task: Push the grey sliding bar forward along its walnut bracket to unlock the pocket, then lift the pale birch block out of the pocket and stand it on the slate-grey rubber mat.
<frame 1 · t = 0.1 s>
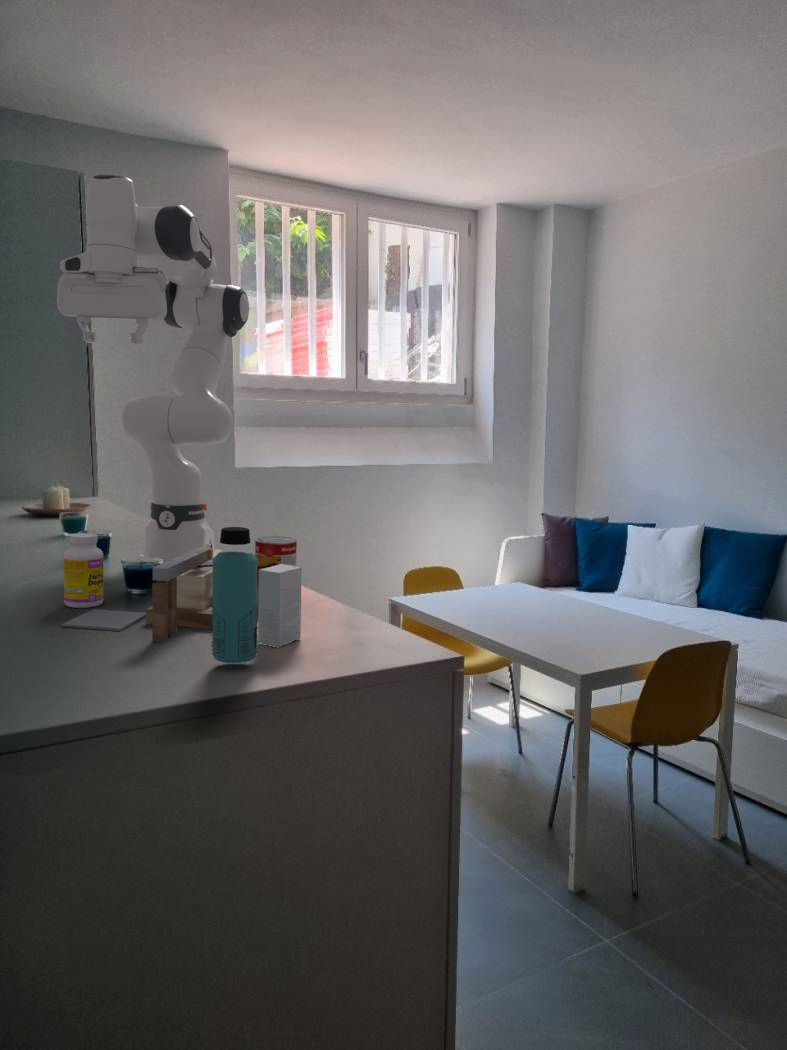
hand: (112, 342, 139), 48 cm above the table, tool pointing down, fingers open, 8 cm apart
skincare box: (279, 642, 118), on the table
holder: (194, 617, 130), on the table
grey sliding bar: (184, 563, 124), point 10 cm above the table, slide at 0.0 cm
canned food: (274, 601, 144), on the table
supplement bottle: (84, 605, 135), on the table
birch block: (194, 617, 130), resting in holder
beverage bottle: (234, 667, 105), on the table
mat: (106, 620, 125), on the table
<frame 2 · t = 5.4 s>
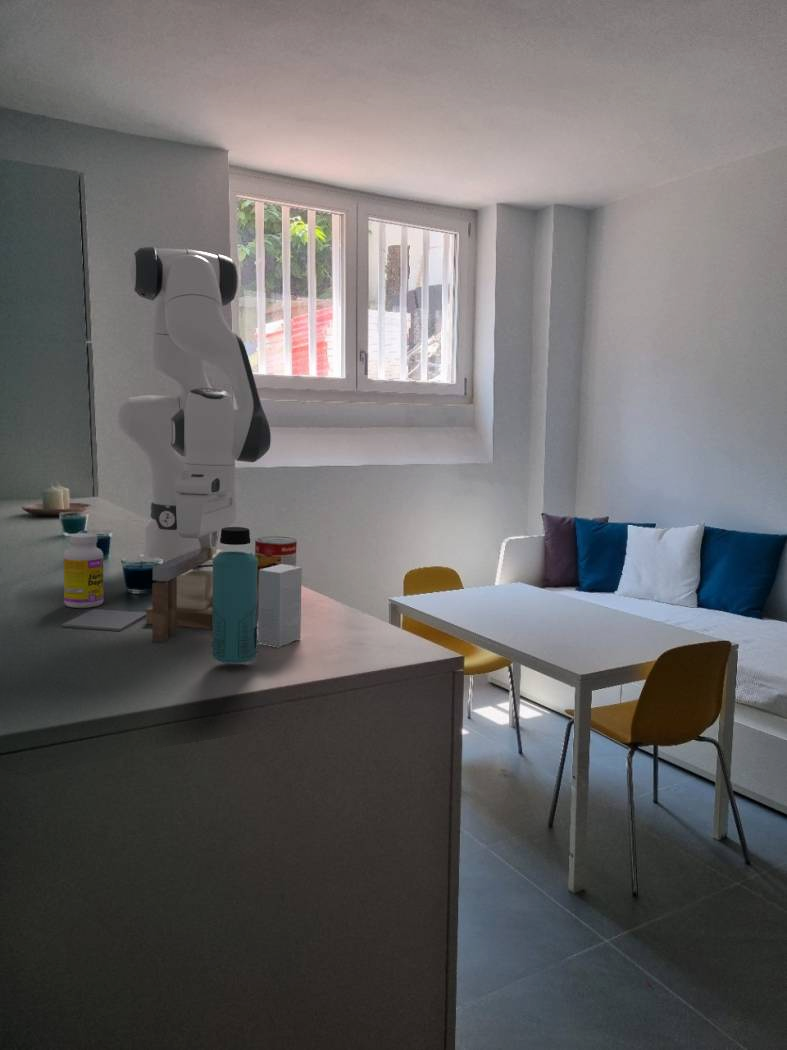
hand: (208, 555, 135), 10 cm above the table, tool pointing down, fingers closed
grey sliding bar: (184, 563, 124), point 10 cm above the table, slide at 0.0 cm, touching gripper
everything else where it was.
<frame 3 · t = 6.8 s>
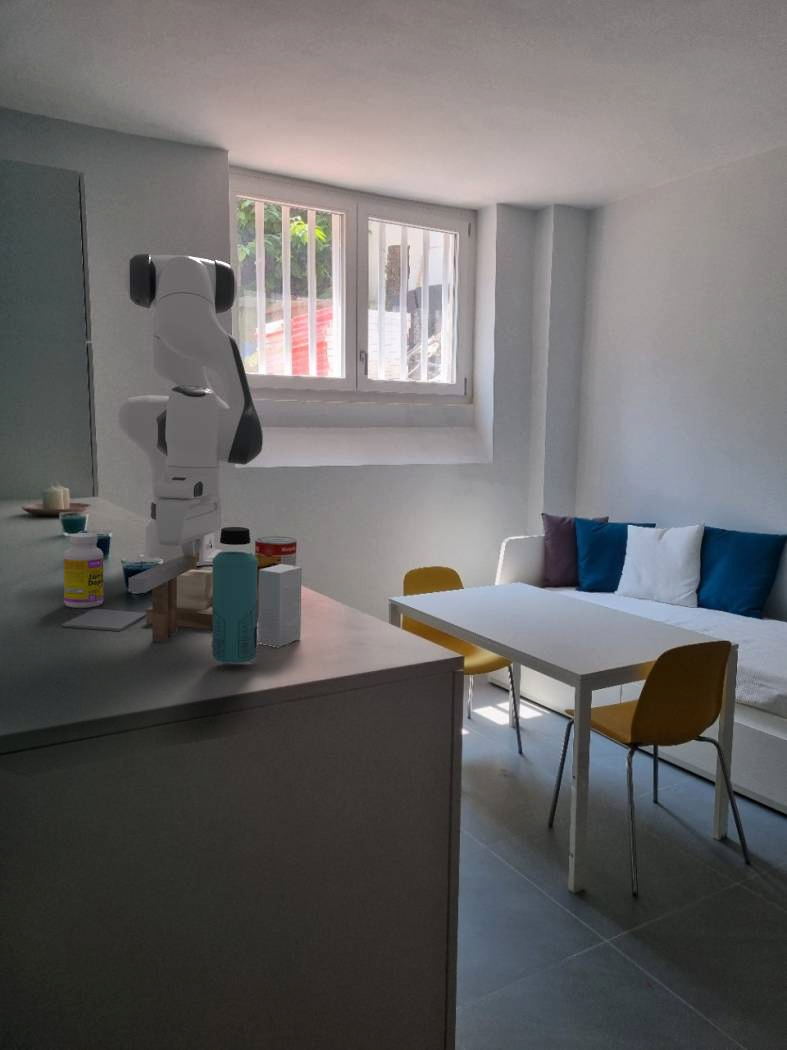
hand: (192, 563, 127), 10 cm above the table, tool pointing down, fingers closed
grey sliding bar: (164, 572, 116), point 10 cm above the table, slide at 8.0 cm, touching gripper
everything else where it was.
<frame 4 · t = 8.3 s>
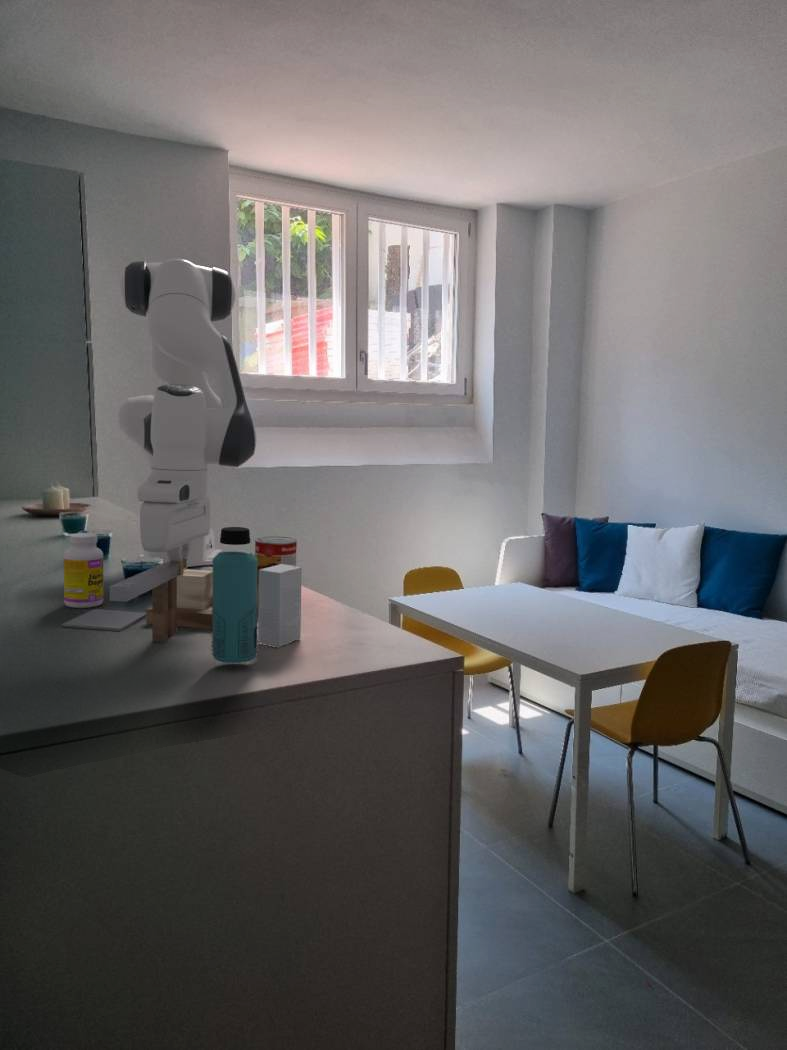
hand: (178, 570, 121), 10 cm above the table, tool pointing down, fingers closed
grey sliding bar: (148, 579, 110), point 10 cm above the table, slide at 13.5 cm, touching gripper
everything else where it was.
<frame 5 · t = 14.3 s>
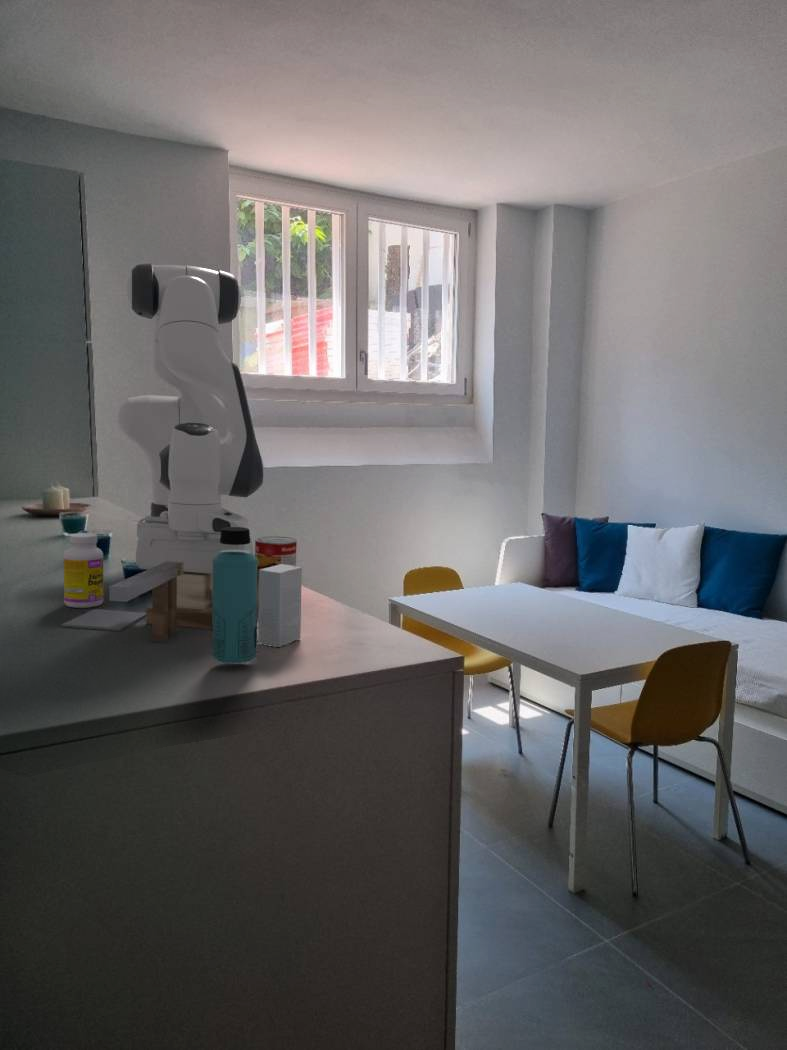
hand: (194, 597, 129), 4 cm above the table, tool pointing down, fingers closed on birch block, 5 cm apart
grey sliding bar: (148, 579, 110), point 10 cm above the table, slide at 13.5 cm
birch block: (194, 617, 130), resting in holder, touching gripper
everything else where it was.
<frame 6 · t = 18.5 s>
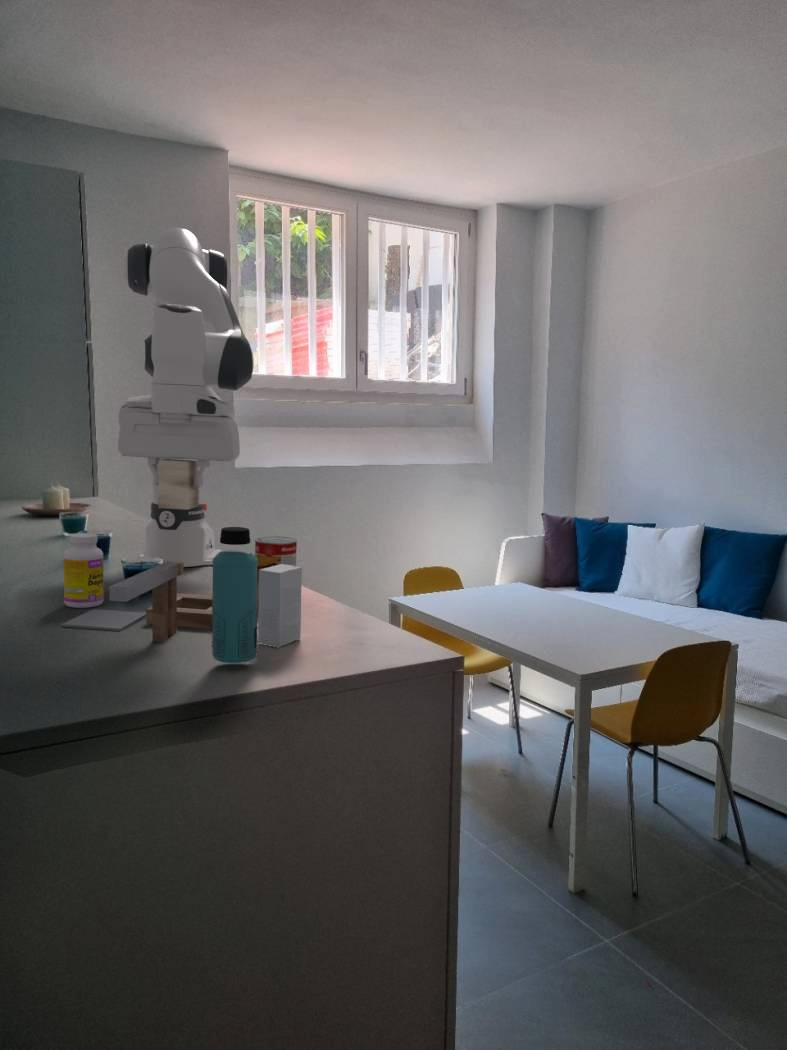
hand: (178, 485, 126), 23 cm above the table, tool pointing down, fingers closed on birch block, 5 cm apart
birch block: (178, 507, 126), point 19 cm above the table, touching gripper
everything else where it was.
when the fingers open (6 cm above the table, at t = 23.0 s): birch block drops 2 cm, resting on mat.
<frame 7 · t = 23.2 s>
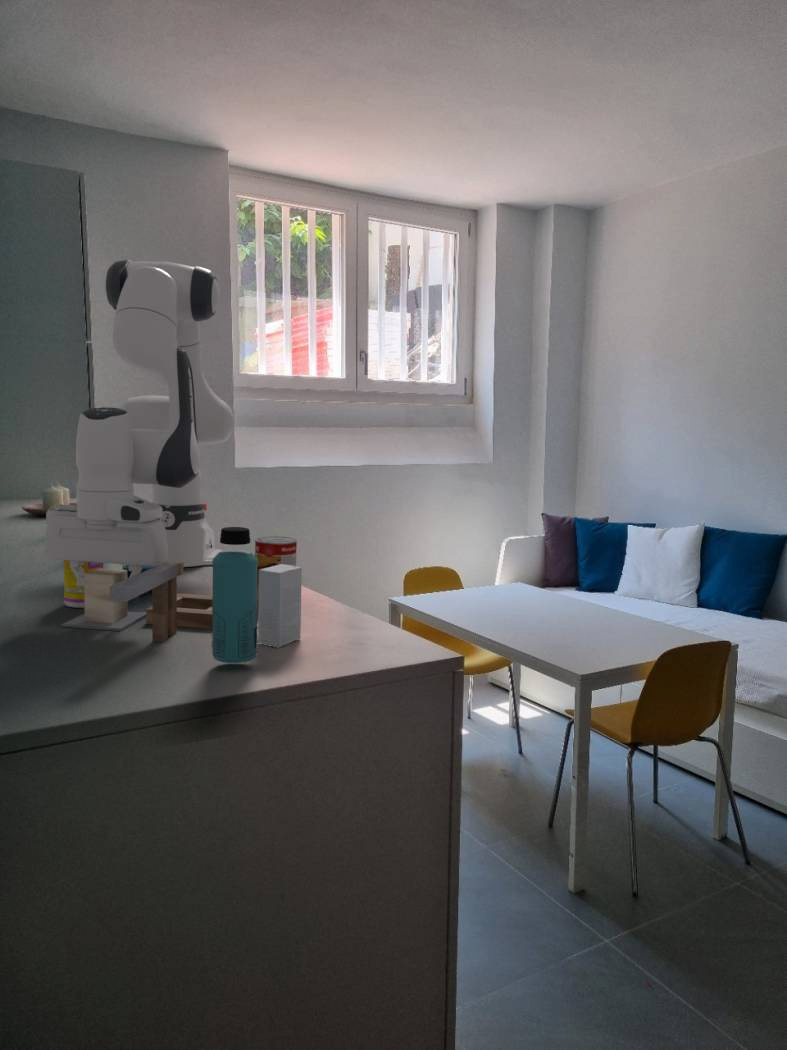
hand: (106, 588, 124), 6 cm above the table, tool pointing down, fingers open, 7 cm apart
birch block: (106, 618, 125), resting on mat
everything else where it was.
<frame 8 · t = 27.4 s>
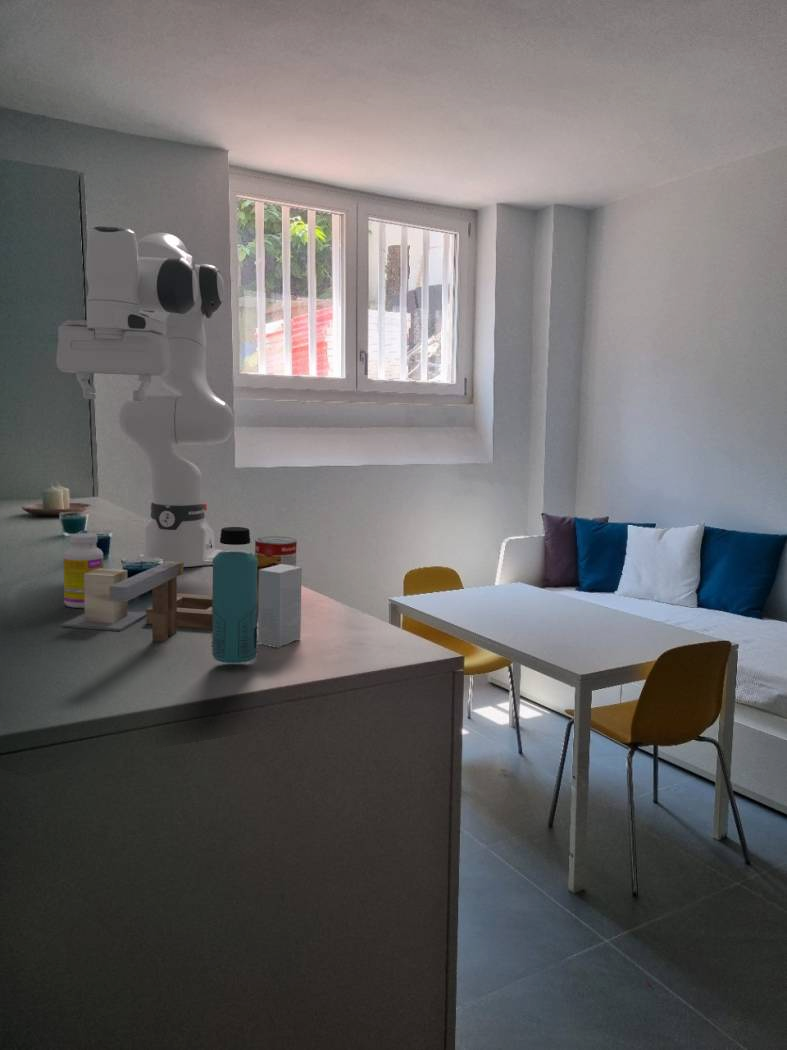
hand: (114, 400, 133), 37 cm above the table, tool pointing down, fingers open, 8 cm apart
nothing on the table moved.
at the end: grey sliding bar slide at 13.5 cm; birch block inside the target area on the mat (0.0 cm from its centre), point 0.4 cm above the mat's base; birch block tilted 0° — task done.
